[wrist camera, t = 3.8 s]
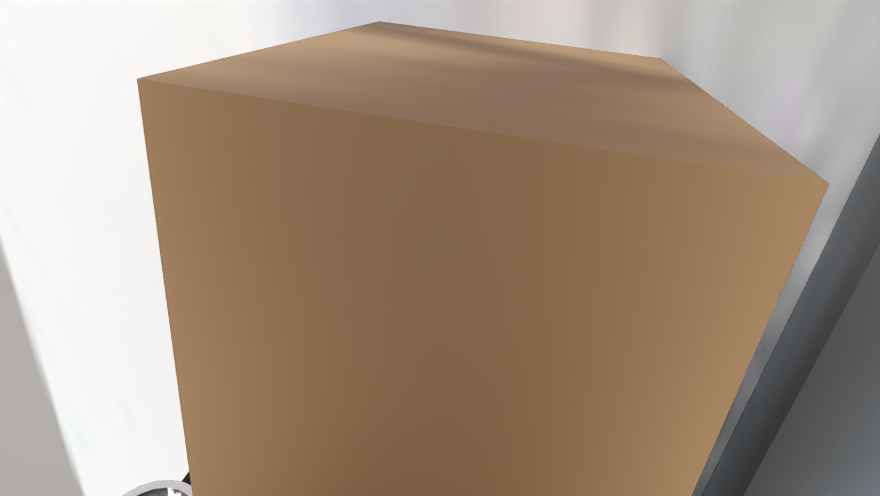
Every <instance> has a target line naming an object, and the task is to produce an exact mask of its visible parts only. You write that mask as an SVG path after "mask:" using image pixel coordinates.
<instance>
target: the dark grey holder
mask: <svg viewBox="0 0 880 496" xmlns="http://www.w3.org/2000/svg"><path fill="white" fill-rule="evenodd" d="M702 496H880V136H879V138H878V140H877V142H876V144H875V146H874V148H873V150H872V152H871V154H870V156H869V158H868V160H867V162H866V164H865V166H864V168H863V170H862V172H861V174H860V176H859V178H858V180H857V182H856V184H855V186H854V188H853V191H852V193H851V195H850V197H849V199H848V201H847V203H846V205H845V207H844V209H843V211H842V213H841V215H840V217H839V219H838V221H837V223H836V225H835V227H834V229H833V231H832V233H831V235H830V237H829V239H828V241H827V243H826V245H825V247H824V249H823V251H822V254H821V256H820V258H819V260H818V262H817V264H816V266H815V268H814V270H813V272H812V274H811V276H810V278H809V280H808V282H807V284H806V286H805V288H804V290H803V292H802V294H801V296H800V298H799V300H798V302H797V304H796V306H795V308H794V310H793V312H792V314H791V317H790V319H789V321H788V323H787V325H786V327H785V329H784V331H783V333H782V335H781V337H780V339H779V341H778V343H777V345H776V347H775V349H774V351H773V353H772V355H771V357H770V359H769V361H768V363H767V365H766V367H765V369H764V371H763V373H762V375H761V378H760V380H759V382H758V384H757V386H756V388H755V390H754V392H753V394H752V396H751V398H750V400H749V402H748V404H747V406H746V408H745V410H744V412H743V414H742V416H741V418H740V420H739V422H738V424H737V426H736V428H735V430H734V432H733V434H732V436H731V438H730V441H729V443H728V445H727V447H726V449H725V451H724V453H723V455H722V457H721V459H720V461H719V463H718V465H717V467H716V469H715V471H714V473H713V475H712V477H711V479H710V481H709V483H708V485H707V487H706V489H705V491H704V493H703V495H702Z"/></svg>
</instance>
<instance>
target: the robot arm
mask: <svg viewBox="0 0 880 496" xmlns="http://www.w3.org/2000/svg"><path fill="white" fill-rule="evenodd" d="M123 496H193V495H192V488H191V480H190V473H189V472H188V474H187V475H186V476H185V478H184V479H183V480H182V482H180V481H175V480H163V481H154V482H151V483H148V484H145V485H141V486H139V487H137V488H135V489H133V490H131V491H130V492H128V493H126V494H124V495H123Z"/></svg>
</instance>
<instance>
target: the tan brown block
mask: <svg viewBox="0 0 880 496" xmlns="http://www.w3.org/2000/svg"><path fill="white" fill-rule="evenodd" d="M137 83H138V90H139V98H140V105H141V113H142V120H143V128H144V135H145V143H146V150H147V158H148V165H149V173H150V180H151V188H152V195H153V203H154V210H155V218H156V225H157V233H158V240H159V248H160V255H161V263H162V270H163V278H164V285H165V293H166V300H167V308H168V315H169V323H170V330H171V338H172V345H173V353H174V360H175V368H176V375H177V383H178V390H179V398H180V405H181V413H182V420H183V428H184V435H185V443H186V450H187V458H188V465H189V473H190V480H191V488H192V495H193V496H692V494H693V491H694V489H695V487H696V484H697V482H698V480H699V478H700V475H701V473H702V471H703V469H704V466H705V464H706V462H707V460H708V457H709V455H710V453H711V451H712V448H713V446H714V444H715V441H716V439H717V437H718V435H719V432H720V430H721V428H722V426H723V423H724V421H725V419H726V417H727V414H728V412H729V410H730V407H731V405H732V403H733V401H734V398H735V396H736V394H737V392H738V389H739V387H740V385H741V383H742V380H743V378H744V376H745V373H746V371H747V369H748V367H749V364H750V362H751V360H752V358H753V355H754V353H755V351H756V349H757V346H758V344H759V342H760V340H761V337H762V335H763V333H764V330H765V328H766V326H767V324H768V321H769V319H770V317H771V315H772V312H773V310H774V308H775V306H776V303H777V301H778V299H779V296H780V294H781V292H782V290H783V287H784V285H785V283H786V281H787V278H788V276H789V274H790V272H791V269H792V267H793V265H794V262H795V260H796V258H797V256H798V253H799V251H800V249H801V247H802V244H803V242H804V240H805V238H806V235H807V233H808V231H809V229H810V226H811V224H812V222H813V219H814V217H815V215H816V213H817V210H818V208H819V206H820V204H821V201H822V199H823V197H824V195H825V192H826V190H827V188H828V185H829V183H827V182H826V181H825V180H823V179H822V178H821V177H819V176H818V175H817V174H815V173H814V172H813V171H811V170H810V169H809V168H807V167H806V166H805V165H803V164H802V163H800V162H799V161H798V160H796V159H795V158H794V157H792V156H791V155H790V154H788V153H787V152H786V151H784V150H783V149H782V148H780V147H779V146H778V145H776V144H775V143H774V142H772V141H771V140H770V139H768V138H767V137H766V136H764V135H763V134H761V133H760V132H759V131H757V130H756V129H755V128H753V127H752V126H751V125H749V124H748V123H747V122H745V121H744V120H743V119H741V118H740V117H739V116H737V115H736V114H735V113H733V112H732V111H731V110H729V109H728V108H727V107H725V106H724V105H722V104H721V103H720V102H718V101H717V100H716V99H714V98H713V97H712V96H710V95H709V94H708V93H706V92H705V91H704V90H702V89H701V88H700V87H698V86H697V85H696V84H694V83H693V82H692V81H690V80H689V79H688V78H686V77H685V76H683V75H682V74H681V73H679V72H678V71H677V70H675V69H674V68H673V67H671V66H670V65H669V64H667V63H666V62H665V61H663V60H662V59H660V58H653V57H645V56H638V55H630V54H622V53H615V52H607V51H600V50H592V49H584V48H577V47H569V46H562V45H554V44H546V43H539V42H531V41H524V40H516V39H508V38H501V37H493V36H485V35H478V34H470V33H463V32H455V31H447V30H440V29H432V28H425V27H417V26H409V25H402V24H394V23H387V22H375V23H370V24H366V25H362V26H358V27H354V28H349V29H345V30H341V31H337V32H332V33H328V34H324V35H320V36H316V37H311V38H307V39H303V40H299V41H294V42H290V43H286V44H282V45H278V46H273V47H269V48H265V49H261V50H256V51H252V52H248V53H244V54H240V55H235V56H231V57H227V58H223V59H218V60H214V61H210V62H206V63H202V64H197V65H193V66H189V67H185V68H180V69H176V70H172V71H168V72H164V73H159V74H155V75H151V76H147V77H142V78H138V79H137Z"/></svg>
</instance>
